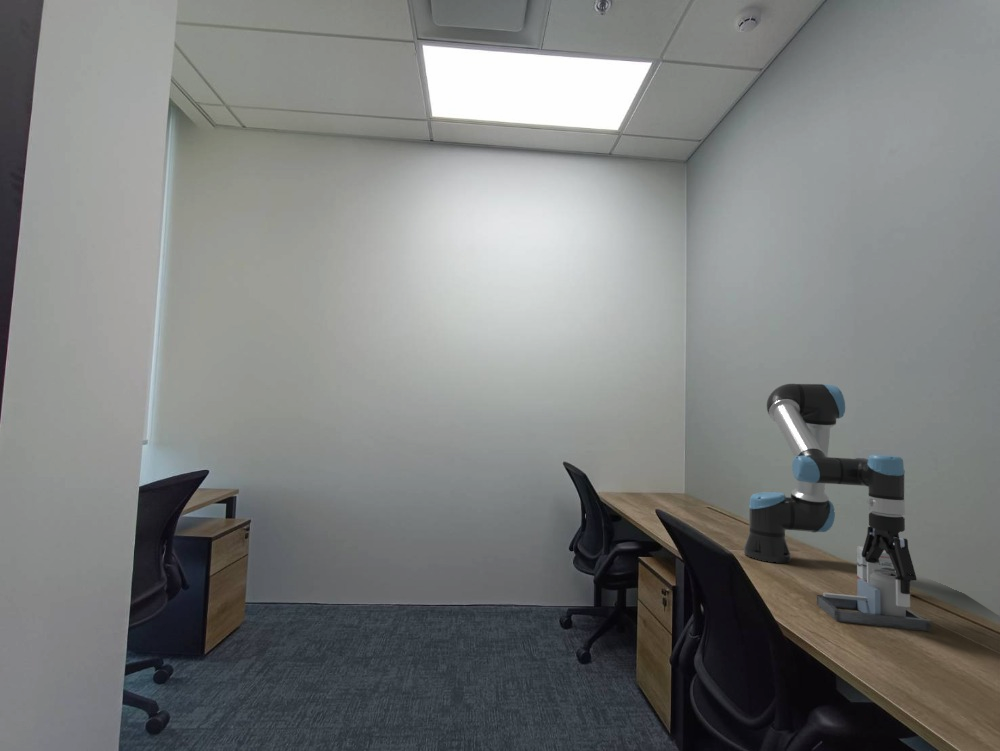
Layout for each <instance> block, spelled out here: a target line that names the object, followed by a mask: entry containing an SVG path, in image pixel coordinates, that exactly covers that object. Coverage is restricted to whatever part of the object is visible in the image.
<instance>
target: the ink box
mask: <svg viewBox="0 0 1000 751" xmlns="http://www.w3.org/2000/svg"><path fill="white" fill-rule="evenodd" d="M863 548H864V546H861V545H859V546H857V547H856V572H857V573H856V574H857V576H856V577H857V578H856V580H857V579H863V580H864V581H866V582H867V561H866V560H865V557H862V551H863ZM867 553H868V552H867ZM879 562H880V563H879ZM875 563H878V564H879V569H884V570H890V571H894V572H896V571H895V569H894V566H893V564H892V561H891V559H890V556H889V554H887V553H886V551H885V550H884V551H883V552H882V554H881V556H880V558H879V561H878V562H875Z"/></svg>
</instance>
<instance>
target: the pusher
mask: <svg viewBox="0 0 1000 751" xmlns="http://www.w3.org/2000/svg"><path fill="white" fill-rule="evenodd" d="M856 580H857V582H856V584H857V585H856V586H857V587H856V590H857V591H856V593H857V594H856V595H853V594H852V595H851V594H841V593H833V592H832V593H831V592H823V593H822V595H823V596H824V597H830V598H840V599H850V600H857V609H858V610H857V609H856V610H857V611H859V612H862V613H872V614H880V590H879V589H877V588H875V587H874V586H872V585H871V584H869V583H867V582H866V581H864V580H863V579H857V578H856Z"/></svg>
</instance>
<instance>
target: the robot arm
mask: <svg viewBox="0 0 1000 751" xmlns="http://www.w3.org/2000/svg"><path fill="white" fill-rule="evenodd" d="M844 397H845V396H844V394H843V393H842V391H841V389H840V387H838V386H836V385H833V384H824V383H823V384H822V383H812V384H811V383H785V384H782V385H780V386H779V387H778V386H777V388H775V389H774V390H773V391H772V392H771V393H770V395H768V398H767V400H766V411H767V414H768V416H769V418H770V419H771V420H772V421H774V422H775V423H776V424H777V425H778V428H779V429H780V431H781V433H782V435H783V437H784V439H785V441H786V443H787V445H788V447H789V449H790V450H791V453H792V455H793V456H794V458H793V459H792V464H791V465H792V466H791V468H792V475H793V478H795V480H796V488H794V489H792V490H791V493H790V497H789V496H788V497H787V496H786V495H785V493H783V492H779V491H778V492H777V491H776V492H775V491H774V492H773V491H764V492H756V493H753V494H751V495H750V497H749V505H748V508H749V521H748V522H749V526H748V527H749V530H748V531H749V532H748V535H747V539H746V541H745V544H744V547H743V548H744V549H743V554H744V553H745V554H746V555H748V556H750V557H752V558H751V559H753V558H755V559H754V560H757V559H758V560H757V561H761V560H762V562H766V561H768V562H767V563H773V562H776V564H783V563H784V564H787V563H789V562H791V551H790V548H789V546H788V543H787V539H786V530H787V531H798V532H810V533H826V532H828V531H830V529H832V527H833V524H834V522H835V519H836V518H835V516H836V512H835V506H834V504H833V502H831V500H830V498H829V496H828V495H827V494H826V493H825V489H826V487H825V486H826V484H830V485H832V484H833V485H835V484H836V485H843V486H844V485H846V486H863V487H867V488H868V500H867V503H868V509H869V511H870V512H869V513H868V526H867V534H866V537H865V541H864V543H863V544H864V545H863V547H864V548H863V551H862V557H865V560H866V561H867V583H869V584H870V574H871V573H873V571H872V570H873V569H879V564H878V563H875V562H878V561H879V558H880V556H881V554H882V552H883V551H884V550H885V551H886V553H887V554H889V556H890V559H891V561H892V564H893V566H894V569H895V572H896V574H897V577H895V579H896V605H897V606H902V607H906V608H911V582H912V581H915V582H916V581H917V579H918V578H917V575H916V571H915V568H914V564H913V560H912V557H911V553H910V549H909V541H908V539H907V538H902V537H900V535H899V534H900V533H902V532H904V531H905V530H906V528H905V527H906V522H905V521H906V519H905V517H904V515H905V514H906V512H905V511H906V510H905V506H906V505H905V504H906V503H905V472H906V471H905V468H904V467H905V466H904V460H903V458H902V457H900V456H898V455H890V454H889V455H888V454H870V455H869V457H868V458H863V457H861V458H860V457H854V458H849V457H848V458H847V457H829V456H828V455H829V446H830V434H831V428H833V427H834V426H836V425H837V419H842V418H843V417H844V415H845V412H846V400H845V398H844ZM867 552H868V553H867ZM745 554H744V555H745ZM746 555H745V556H746ZM748 556H747V557H748ZM750 557H749V558H750ZM786 562H787V563H786ZM879 563H880V562H879Z"/></svg>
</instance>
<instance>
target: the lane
mask: <svg viewBox="0 0 1000 751" xmlns="http://www.w3.org/2000/svg"><path fill="white" fill-rule="evenodd" d="M816 605H818V607H819V608H821V609H822V610H823V611H824V612H825V613H827V615H829V616H830V618H832V619H833V620H834V621H836V622H839V623H841V622H842V623H849V624H861V625H868V626H875V627H876V626H877V627H887V628H895V629H906V630H912V631H913V630H914V631H915V630H916V631H923V632H925V631H926V632H931V630H932V629H931V626H932V625H931V622H932V621H931V620H930V619H927V618H923V617H921V616H920V615H918V614H917V613H915V612H913V610H911V609H909V608H908V607H906V617H900V616H891V615H881V614H872V613H862V612H861V611H859V610H858V609H857V600H850V599H840V598H830V597H824V596H823V594H822V595H821V594H816ZM838 608H840V609H838ZM842 609H849V610H842ZM851 610H857V611H851Z"/></svg>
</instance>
